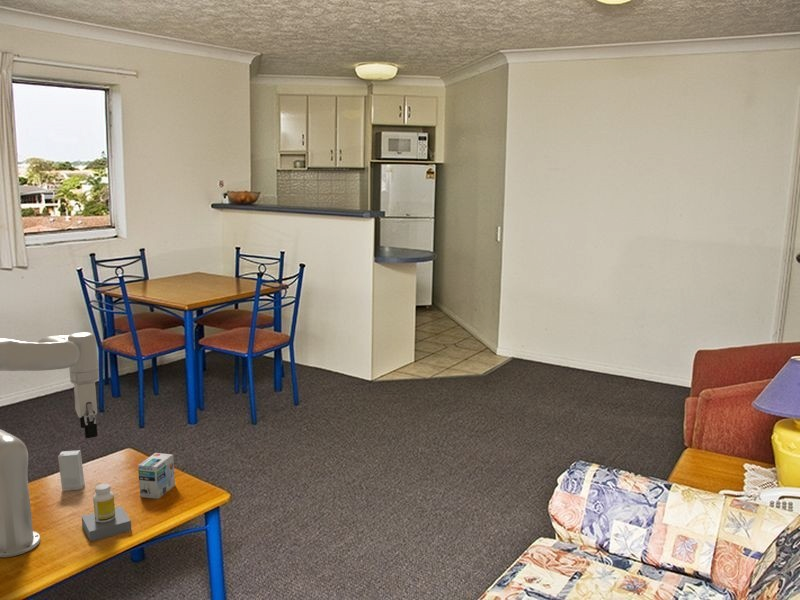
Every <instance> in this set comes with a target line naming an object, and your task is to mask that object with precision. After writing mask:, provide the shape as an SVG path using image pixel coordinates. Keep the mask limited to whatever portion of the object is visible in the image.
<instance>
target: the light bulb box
mask: <svg viewBox="0 0 800 600" xmlns="http://www.w3.org/2000/svg"><path fill="white" fill-rule="evenodd" d="M174 459H175V458H174V454H169V453H160V452H154V453H153V454H152V455H150V456H149V457H148V458H146V459H145V460H143V461H142V462H141V463H139V464H137V469H138V470H137V473H138V483H139V485H138V486H139V496H140V498H147V499H157V500H158V499H160V498H162V497H163V496H164V495H166V493H168V492H169V491H170V490H171V489H173V488H174V487H175V486H176V481H175V478H176V477H175V466H174V465H175V461H174Z"/></svg>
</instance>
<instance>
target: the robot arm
mask: <svg viewBox="0 0 800 600" xmlns="http://www.w3.org/2000/svg"><path fill="white" fill-rule="evenodd" d="M98 362H99V361H98V349H97V340H96V335H95V334H94V333H92V332H88V331H83V332H80V331H79V332H75V333H71V334H68V335H50V336H49V335H48V336H45V337H43V338H41V339H39V340H38V342H30V341H29V342H28V341H21V340H16V339H11V338H0V372H1V371H3V372H23V371H24V372H33V371H34V372H35V371H37V372H39V371H53V370H63V369H69V379H70V381H69V382H70V383H71V384H73V390H74V409H75V412H76V414H77V416H78V418H79V420H80V421H79V422H80V428H81V429H84V437H85V439H92V438H97V437H98V425H97V420H96V415H97V414H98V405H97V404H98V403H97V402H98V401H97V392H96V390H97V389H96V382H98V381H99V379H100V377H99V363H98ZM28 465H29V451H28V448H27V445H26V444H25V443H24V442H23V441H22V440H21V438H19V437H18V436H15V435H13V434H11V433H9V432H7V431H5V430H3V429H0V558H10V557H11V558H12V557H17V556H19V555H22V554H26V553H27V552H30V551H31V550H33V549H35V548H36V547H37V546H38V545H39V544H40V542H41V535H40V534H39V532H37V531H34V527H33V518H32V508H31V507H32V506H31V498H30V497H31V496H30V488H29V480H28Z"/></svg>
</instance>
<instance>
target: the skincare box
mask: <svg viewBox="0 0 800 600" xmlns="http://www.w3.org/2000/svg"><path fill="white" fill-rule="evenodd" d="M82 459H83V457H82V452H81V450H80V449H79V450H65V451H64V450H63V451H61V452H60V453H59V455H58V456H57V460H58V468H59V475H60V484H61V489H62V490H61V491H62V492H63V491H74V490H75V491H77V490H82V489H83V488H84V486H85V476H84V475H85V474H84V466H83V460H82Z"/></svg>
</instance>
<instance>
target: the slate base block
mask: <svg viewBox="0 0 800 600" xmlns="http://www.w3.org/2000/svg"><path fill="white" fill-rule="evenodd" d="M81 525H82V528H83V530H84V532H85V534H86V537H88V540H89V542H91V543H92V542H95V541H98V540H99V541H100V540H103V539H105V538H109V537H112V536H116V535H120V534H123V533H127V532H132V531H133V530H132V520H131V519H130V517H129V516H128V514H127V513H126V510H125V509H124V508H123V507H122V505H121V506H116V507H115V518H114V519H113V520H111V521H108V522H104V523H100V522H97V521H96V520H95V513H94V512H92V513H88V514H85V515H81Z"/></svg>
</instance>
